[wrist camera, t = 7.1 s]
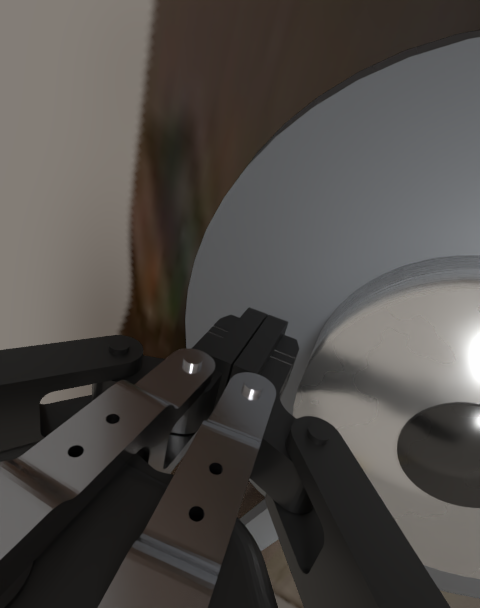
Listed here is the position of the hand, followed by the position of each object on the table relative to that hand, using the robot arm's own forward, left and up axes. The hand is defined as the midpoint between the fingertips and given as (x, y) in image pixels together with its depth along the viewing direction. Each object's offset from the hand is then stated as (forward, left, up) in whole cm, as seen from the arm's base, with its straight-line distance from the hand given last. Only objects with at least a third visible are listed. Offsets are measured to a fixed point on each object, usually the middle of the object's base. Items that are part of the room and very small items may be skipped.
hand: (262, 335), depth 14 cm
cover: (0, +7, -1) cm, 7 cm away
